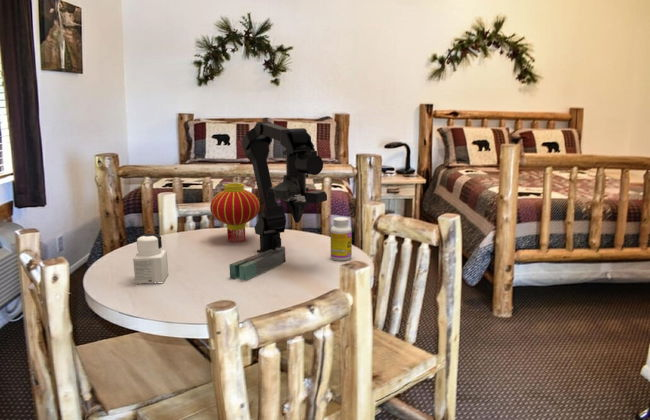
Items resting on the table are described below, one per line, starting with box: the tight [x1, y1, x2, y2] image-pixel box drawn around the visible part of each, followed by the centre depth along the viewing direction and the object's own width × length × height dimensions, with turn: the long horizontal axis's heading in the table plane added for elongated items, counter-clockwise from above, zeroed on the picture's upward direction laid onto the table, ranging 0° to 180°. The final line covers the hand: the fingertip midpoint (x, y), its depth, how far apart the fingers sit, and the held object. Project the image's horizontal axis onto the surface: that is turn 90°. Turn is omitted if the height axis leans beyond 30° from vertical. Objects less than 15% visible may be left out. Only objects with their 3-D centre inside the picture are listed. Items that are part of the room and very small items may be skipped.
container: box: [132, 233, 169, 283], centre depth 156 cm, size 8×8×13 cm
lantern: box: [209, 164, 261, 244], centre depth 195 cm, size 17×17×30 cm
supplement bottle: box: [330, 216, 353, 262], centre depth 174 cm, size 7×7×13 cm
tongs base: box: [228, 245, 287, 280], centre depth 165 cm, size 4×22×4 cm, turn 145°
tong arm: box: [239, 250, 284, 281], centre depth 163 cm, size 2×18×4 cm, turn 149°
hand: (297, 222), depth 168 cm, fingers closed
